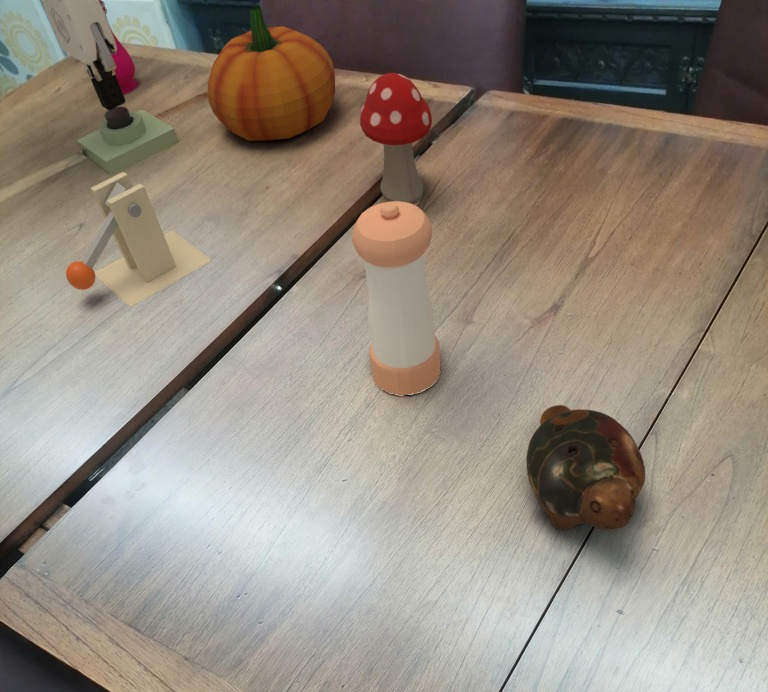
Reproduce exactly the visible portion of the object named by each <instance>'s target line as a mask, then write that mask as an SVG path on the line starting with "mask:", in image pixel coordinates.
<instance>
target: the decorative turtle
mask: <svg viewBox="0 0 768 692" xmlns="http://www.w3.org/2000/svg"><path fill="white" fill-rule="evenodd" d="M539 424H540V425H539V426H538V427H537V429H536V430H535V431H534V433H533V435H532V437H531V438H530V440H529V443H528V446H527V452H526V472H527V478H528V482H529V485H530V487H531V489H532V492H533V494H534V495H535V497H536V500H537V501H538V502H539V504H540V505H541V507H542V509H543V512H544V513H545V514H546V515H547V517H548V519H549V520H550V522H551V524H552V526H553V527H554V528H555V529H556V530H559V529H561V530H560V531H565V530H569V529H572V528H574V527H576V526H579V525H580V526H581V525H587V526H590V527H593V528H596V529H599V530H603V531H604V530H605V531H615V530H618V529H623V528H624V527H627V525H629V524H630V522H631V520H632V518H633V516H634V512H635V508H636V499H637V498H638V496H639V494H640V493H641V491H642V489H643V487H644V485H645V483H646V482H645V481H646V466H645V462H644V459H643V456H642V453H641V451H640V448H639V447H638V444H637V442H636V441H635V440H634V438H633V436H632V434H631V433H630V432H629V431H628V430H627V429H626V428H625V427H624V426H623V425H622V424H621V423H620V422H619V421H617V419H615V418H614V417H612V416H610V415H608V414H606V413H604V412H601V411H597V410H593V409H579V408H577V409H570V408H569V407H567V406H566V405H563V404H556V405H553V406H551V407H548V408H547V409H545V410H544V411H543V412H542V414H541V415H540V420H539ZM572 452H574V453H575V454H572V455H571V453H572Z"/></svg>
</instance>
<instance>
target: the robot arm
mask: <svg viewBox="0 0 768 692" xmlns="http://www.w3.org/2000/svg"><path fill="white" fill-rule="evenodd" d="M40 2H41V3H42V6H43V8H44V11H45V13H46V16H47V18H48V21H49V23H50V26H51V28H52V31H53V33H54V35H55V38H56V41H57V43H58V45H59V47H60V48H61V50H62V51H63V52H64V53H66V54H67V55H68V56H71V57H73V58H74V59H76V60H78V61H80V62H82V64H83V67H84V69H85V71H86V73H87V75H88V76H89V78H90V81H91V83H92V85H93V86H92V87H93V88H94V90H95V93H96V95H97V98H98V100H99V102H100V105H101V107H102V108H104V109H106V111H108V110H111V109H113V108H116V107H121V105H124V104H125V103H126V97H125V94H123V93H122V90H121V88H120V85H119V83H118V80H117V78H116V75H115V71H114V69H116V68H117V67H116V64H115V62H114V60H113V58H112V56H111V54H116V51H117V46H116V43H115V39H114V37H113V34H112V32H113V30H112V28H110V27H111V25H110V23H109V20H108V17H107V15H106V16H105V13H104V11H103V9H102V6H101V4H100V2H99V0H41V1H40ZM106 17H107V18H106ZM107 20H108V21H107ZM109 25H110V26H109ZM111 30H112V31H111ZM93 77H94V78H93Z"/></svg>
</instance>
